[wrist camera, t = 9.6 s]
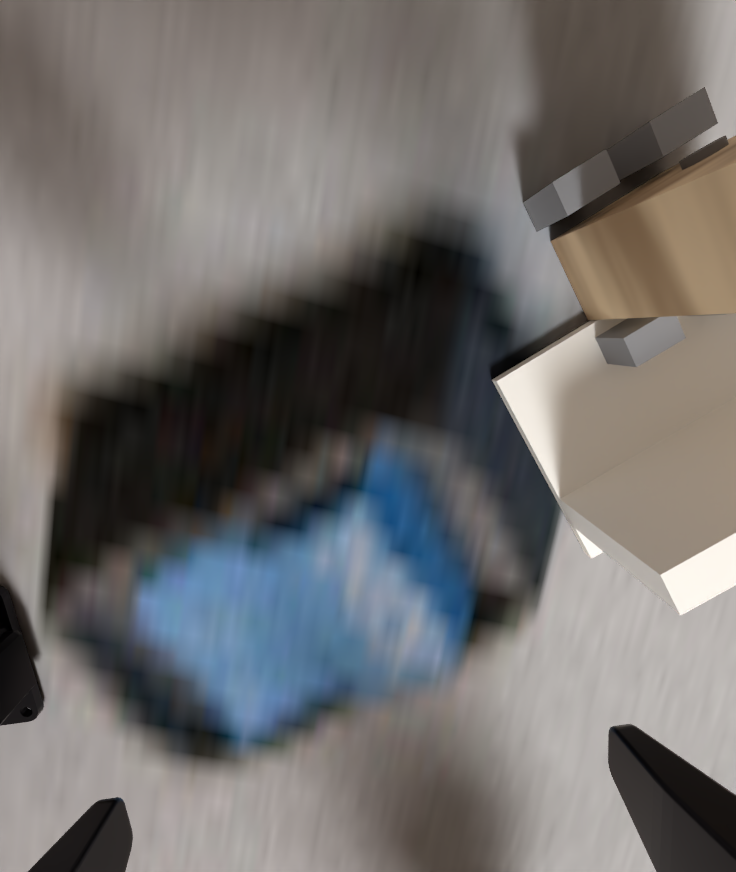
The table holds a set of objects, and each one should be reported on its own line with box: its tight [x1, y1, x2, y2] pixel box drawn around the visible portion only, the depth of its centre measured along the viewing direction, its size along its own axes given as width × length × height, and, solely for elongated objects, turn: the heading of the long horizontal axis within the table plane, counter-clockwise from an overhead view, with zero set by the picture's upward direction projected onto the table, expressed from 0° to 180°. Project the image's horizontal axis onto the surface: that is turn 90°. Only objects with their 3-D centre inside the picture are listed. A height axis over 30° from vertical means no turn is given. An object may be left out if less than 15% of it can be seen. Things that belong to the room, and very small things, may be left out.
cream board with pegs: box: [492, 87, 736, 616], centre depth 16 cm, size 14×14×7 cm
